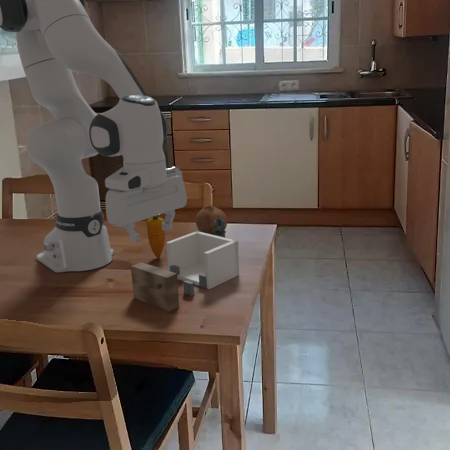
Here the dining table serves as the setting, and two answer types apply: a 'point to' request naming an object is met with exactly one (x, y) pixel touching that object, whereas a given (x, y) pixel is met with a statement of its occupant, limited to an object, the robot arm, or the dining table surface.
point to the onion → (209, 219)
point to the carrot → (156, 235)
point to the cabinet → (202, 260)
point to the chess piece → (219, 227)
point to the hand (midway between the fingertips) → (151, 235)
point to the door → (155, 286)
